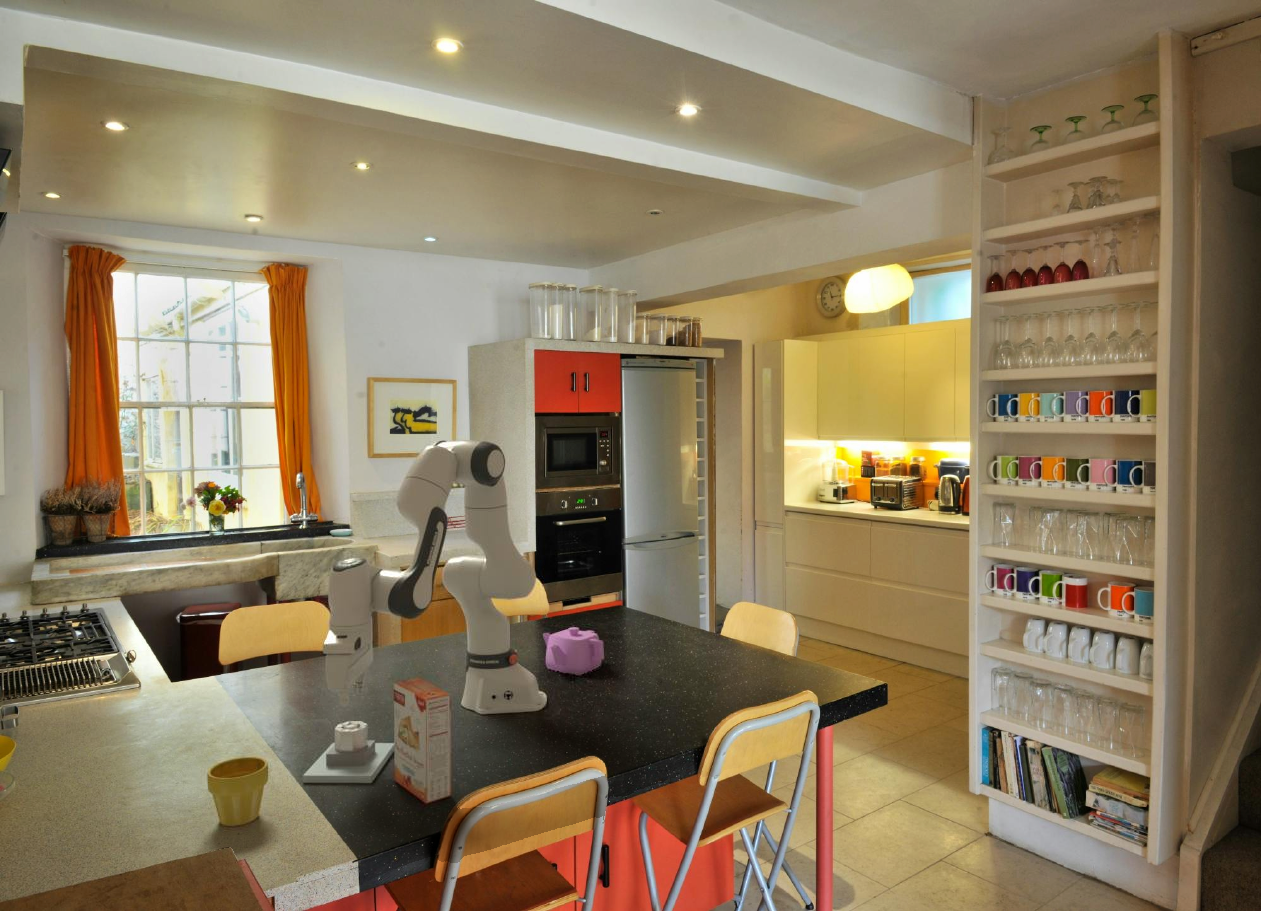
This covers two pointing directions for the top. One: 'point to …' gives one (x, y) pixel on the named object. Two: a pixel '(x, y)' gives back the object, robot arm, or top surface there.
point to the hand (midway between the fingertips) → (352, 697)
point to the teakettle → (573, 651)
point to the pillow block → (349, 764)
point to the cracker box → (422, 739)
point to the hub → (351, 737)
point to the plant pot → (238, 789)
